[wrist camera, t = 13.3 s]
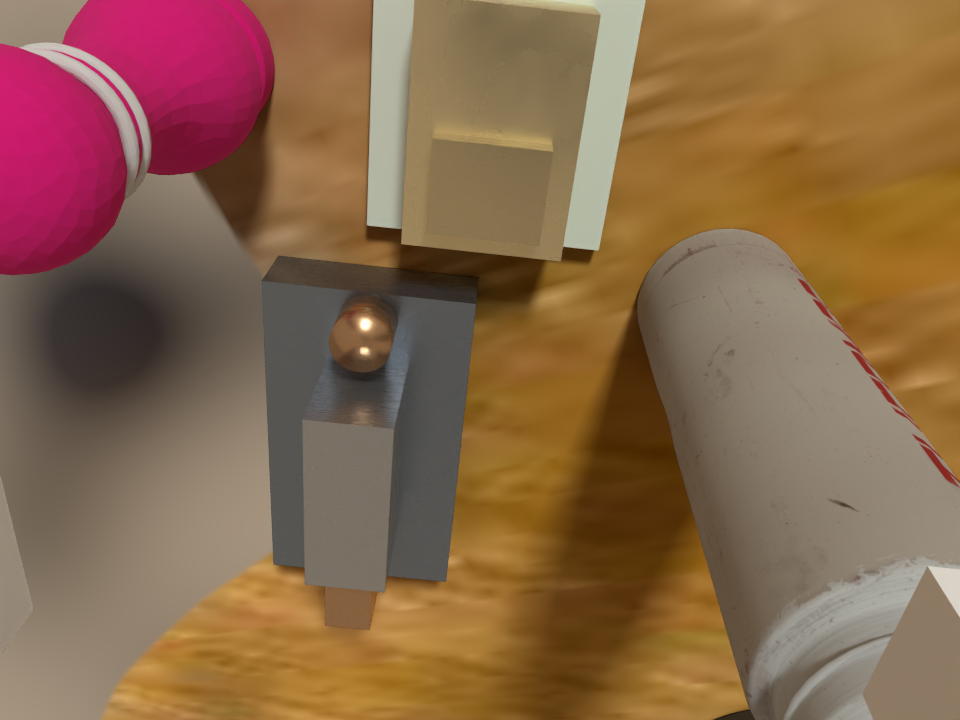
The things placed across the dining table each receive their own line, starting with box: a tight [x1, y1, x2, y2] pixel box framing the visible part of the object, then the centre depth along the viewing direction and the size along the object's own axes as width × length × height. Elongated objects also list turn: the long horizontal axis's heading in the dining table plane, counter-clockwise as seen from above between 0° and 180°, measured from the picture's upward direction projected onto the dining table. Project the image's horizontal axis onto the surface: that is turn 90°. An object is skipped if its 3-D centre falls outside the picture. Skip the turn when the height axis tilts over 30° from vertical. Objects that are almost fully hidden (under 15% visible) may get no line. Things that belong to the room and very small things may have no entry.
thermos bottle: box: [637, 229, 960, 720], centre depth 28 cm, size 8×8×28 cm
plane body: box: [262, 256, 479, 630], centre depth 41 cm, size 18×10×8 cm, turn 174°
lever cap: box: [401, 0, 601, 261], centre depth 33 cm, size 10×7×4 cm
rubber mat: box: [367, 0, 646, 251], centre depth 35 cm, size 11×11×1 cm
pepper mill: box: [0, 0, 274, 275], centre depth 26 cm, size 7×7×20 cm
